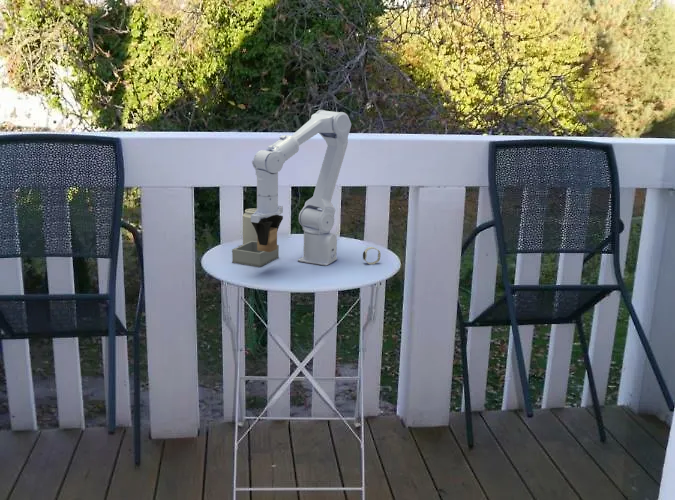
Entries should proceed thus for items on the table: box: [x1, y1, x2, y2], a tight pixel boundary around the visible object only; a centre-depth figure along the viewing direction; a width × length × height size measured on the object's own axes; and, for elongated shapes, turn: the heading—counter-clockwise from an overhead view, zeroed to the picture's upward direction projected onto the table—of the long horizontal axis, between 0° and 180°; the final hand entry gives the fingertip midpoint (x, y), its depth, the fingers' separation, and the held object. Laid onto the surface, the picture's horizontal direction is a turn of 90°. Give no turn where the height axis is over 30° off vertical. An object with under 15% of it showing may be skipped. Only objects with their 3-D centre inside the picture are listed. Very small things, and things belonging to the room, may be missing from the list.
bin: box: [231, 241, 280, 268], centre depth 215 cm, size 9×11×4 cm
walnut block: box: [257, 227, 278, 252], centre depth 202 cm, size 4×4×6 cm
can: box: [242, 207, 257, 245], centre depth 227 cm, size 8×8×12 cm
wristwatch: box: [362, 246, 381, 265], centre depth 214 cm, size 3×5×5 cm, turn 104°
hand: (267, 242), depth 202 cm, fingers closed on walnut block, 4 cm apart
